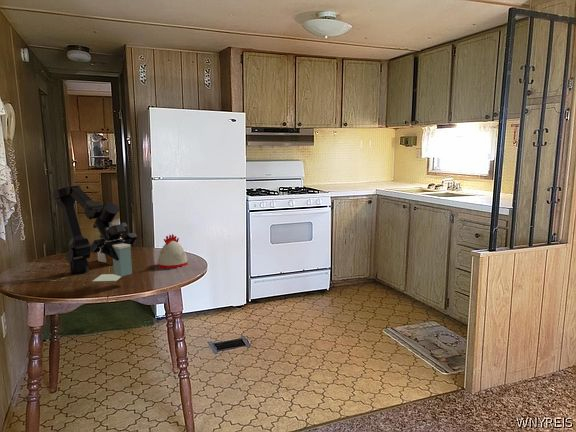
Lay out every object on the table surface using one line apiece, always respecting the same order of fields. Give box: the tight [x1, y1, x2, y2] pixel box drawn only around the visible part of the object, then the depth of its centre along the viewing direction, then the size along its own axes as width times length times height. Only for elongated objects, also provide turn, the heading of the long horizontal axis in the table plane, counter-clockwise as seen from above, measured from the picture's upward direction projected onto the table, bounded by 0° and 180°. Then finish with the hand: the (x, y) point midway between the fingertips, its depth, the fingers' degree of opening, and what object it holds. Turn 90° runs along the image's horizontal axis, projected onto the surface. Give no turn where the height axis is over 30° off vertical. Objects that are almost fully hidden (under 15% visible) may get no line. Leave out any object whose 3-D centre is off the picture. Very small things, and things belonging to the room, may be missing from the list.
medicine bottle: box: [96, 238, 107, 264], centre depth 212 cm, size 7×7×12 cm
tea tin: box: [112, 243, 133, 277], centre depth 172 cm, size 5×5×12 cm
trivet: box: [91, 273, 123, 282], centre depth 183 cm, size 10×10×1 cm
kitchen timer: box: [157, 234, 189, 269], centre depth 202 cm, size 14×14×15 cm
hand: (124, 258), depth 171 cm, fingers closed on tea tin, 5 cm apart
